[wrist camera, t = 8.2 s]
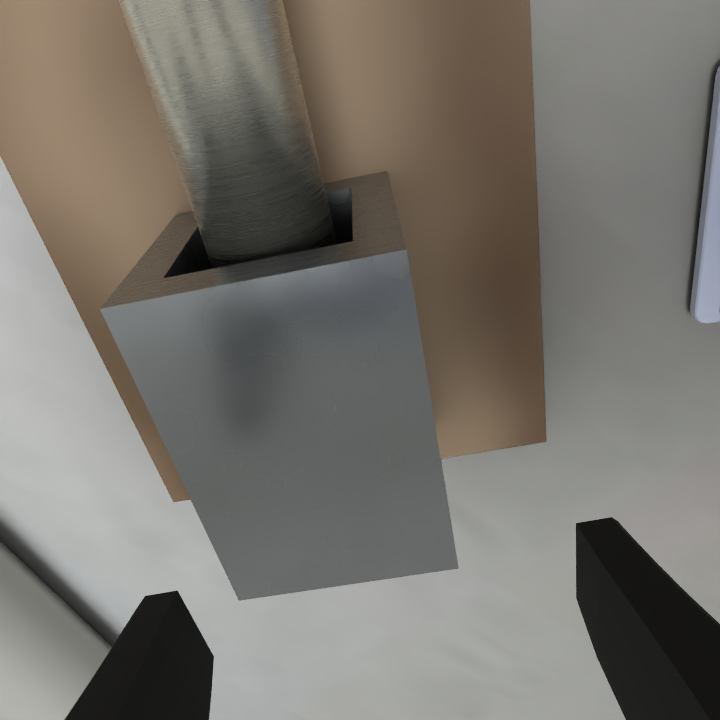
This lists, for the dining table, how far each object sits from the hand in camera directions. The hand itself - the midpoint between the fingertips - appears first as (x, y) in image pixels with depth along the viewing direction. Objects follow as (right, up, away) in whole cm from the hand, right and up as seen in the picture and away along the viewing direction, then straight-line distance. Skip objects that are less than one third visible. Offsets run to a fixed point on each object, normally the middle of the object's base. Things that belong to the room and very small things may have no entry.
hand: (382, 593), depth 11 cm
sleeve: (-2, +6, +9) cm, 10 cm away
